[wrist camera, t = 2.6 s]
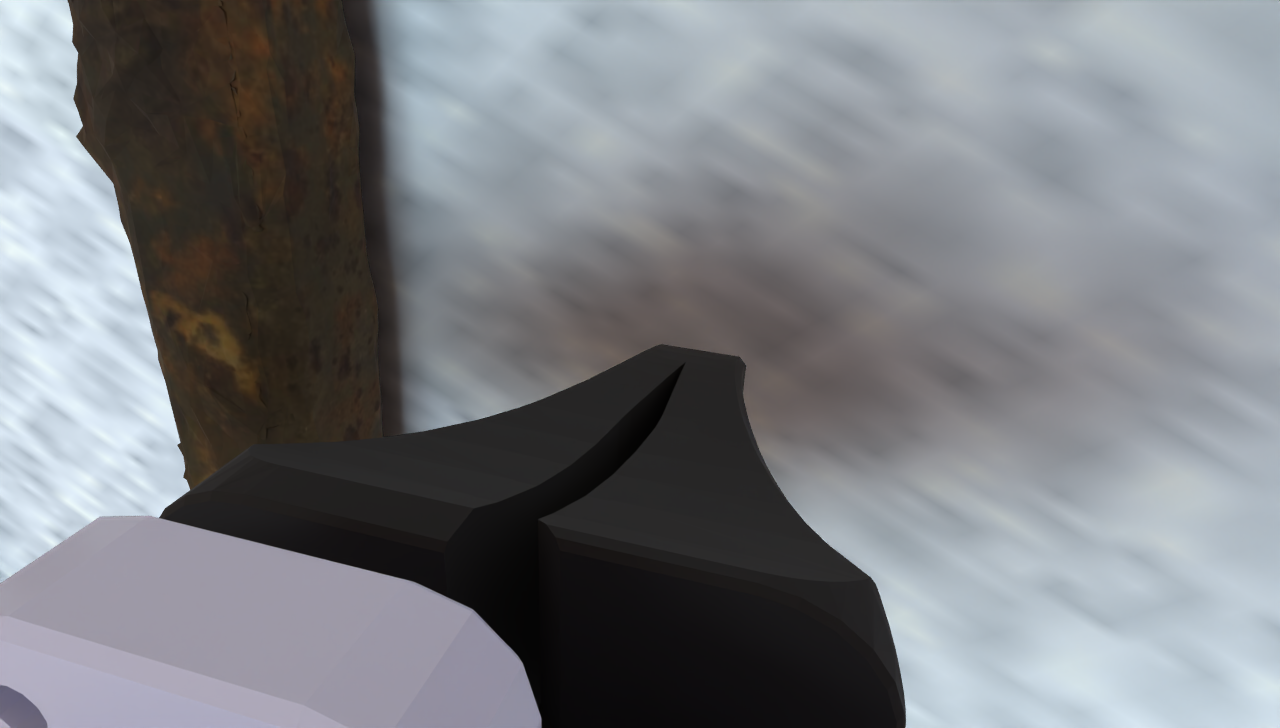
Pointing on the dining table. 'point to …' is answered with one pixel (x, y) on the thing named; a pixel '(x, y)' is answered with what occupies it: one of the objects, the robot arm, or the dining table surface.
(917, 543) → the dining table surface
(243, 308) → the hand tool
